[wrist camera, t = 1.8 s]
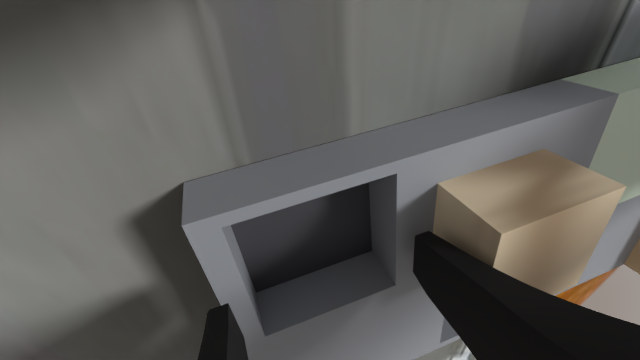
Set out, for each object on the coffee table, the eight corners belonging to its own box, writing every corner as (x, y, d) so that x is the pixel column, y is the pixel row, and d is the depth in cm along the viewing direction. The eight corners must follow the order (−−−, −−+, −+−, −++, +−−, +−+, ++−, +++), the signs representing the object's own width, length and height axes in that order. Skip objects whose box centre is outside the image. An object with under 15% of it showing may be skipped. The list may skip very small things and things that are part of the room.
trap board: (694, 42, 16) (817, 55, 13) (597, 236, 24) (659, 275, 21) (183, 182, 11) (179, 262, 8) (268, 374, 19) (284, 454, 16)
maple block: (544, 148, 13) (626, 186, 10) (517, 237, 15) (576, 284, 13) (437, 183, 12) (501, 233, 9) (428, 272, 14) (476, 329, 12)
